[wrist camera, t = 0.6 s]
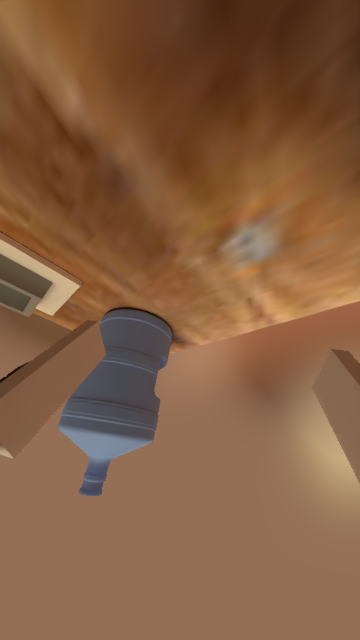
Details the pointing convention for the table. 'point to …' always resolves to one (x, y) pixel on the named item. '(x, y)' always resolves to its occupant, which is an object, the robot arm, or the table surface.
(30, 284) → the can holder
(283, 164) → the table surface
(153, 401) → the water jug
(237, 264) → the table surface
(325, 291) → the table surface
